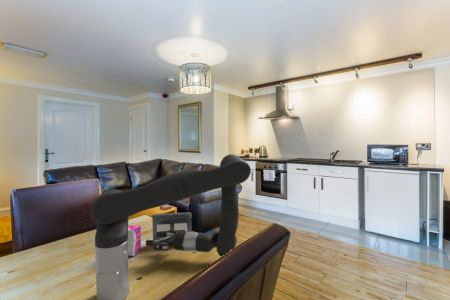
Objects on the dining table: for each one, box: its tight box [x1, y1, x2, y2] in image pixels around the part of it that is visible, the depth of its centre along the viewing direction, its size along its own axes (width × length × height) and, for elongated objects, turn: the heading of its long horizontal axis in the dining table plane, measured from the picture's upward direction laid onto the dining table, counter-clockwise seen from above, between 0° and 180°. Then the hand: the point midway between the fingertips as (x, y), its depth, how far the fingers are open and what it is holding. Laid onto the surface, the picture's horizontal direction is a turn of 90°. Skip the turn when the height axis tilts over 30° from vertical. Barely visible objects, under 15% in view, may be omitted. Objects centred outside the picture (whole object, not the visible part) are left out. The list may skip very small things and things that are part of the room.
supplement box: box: [128, 224, 142, 258], centre depth 99 cm, size 6×6×12 cm
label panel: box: [151, 211, 192, 243], centre depth 109 cm, size 2×18×14 cm, turn 98°
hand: (151, 238), depth 96 cm, fingers open, 8 cm apart
